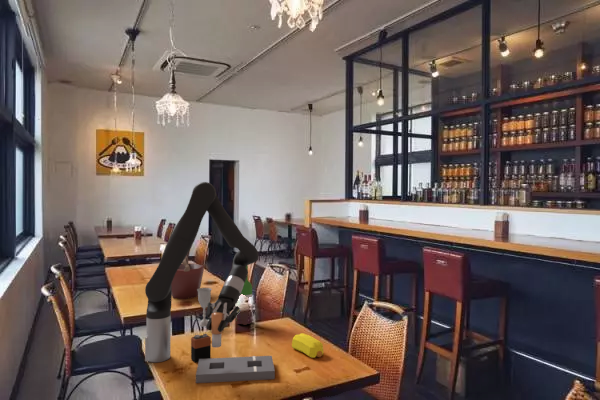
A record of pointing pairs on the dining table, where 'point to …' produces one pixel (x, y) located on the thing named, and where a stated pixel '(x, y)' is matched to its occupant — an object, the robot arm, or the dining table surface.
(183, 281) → the bucket
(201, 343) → the battery
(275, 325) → the dining table surface
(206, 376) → the grey peg board
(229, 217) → the robot arm
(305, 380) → the dining table surface
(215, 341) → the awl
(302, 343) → the yellow faceted prism
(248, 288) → the wine bottle
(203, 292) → the chalice
